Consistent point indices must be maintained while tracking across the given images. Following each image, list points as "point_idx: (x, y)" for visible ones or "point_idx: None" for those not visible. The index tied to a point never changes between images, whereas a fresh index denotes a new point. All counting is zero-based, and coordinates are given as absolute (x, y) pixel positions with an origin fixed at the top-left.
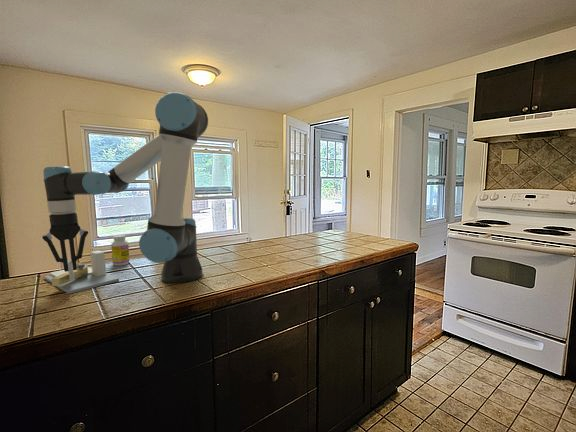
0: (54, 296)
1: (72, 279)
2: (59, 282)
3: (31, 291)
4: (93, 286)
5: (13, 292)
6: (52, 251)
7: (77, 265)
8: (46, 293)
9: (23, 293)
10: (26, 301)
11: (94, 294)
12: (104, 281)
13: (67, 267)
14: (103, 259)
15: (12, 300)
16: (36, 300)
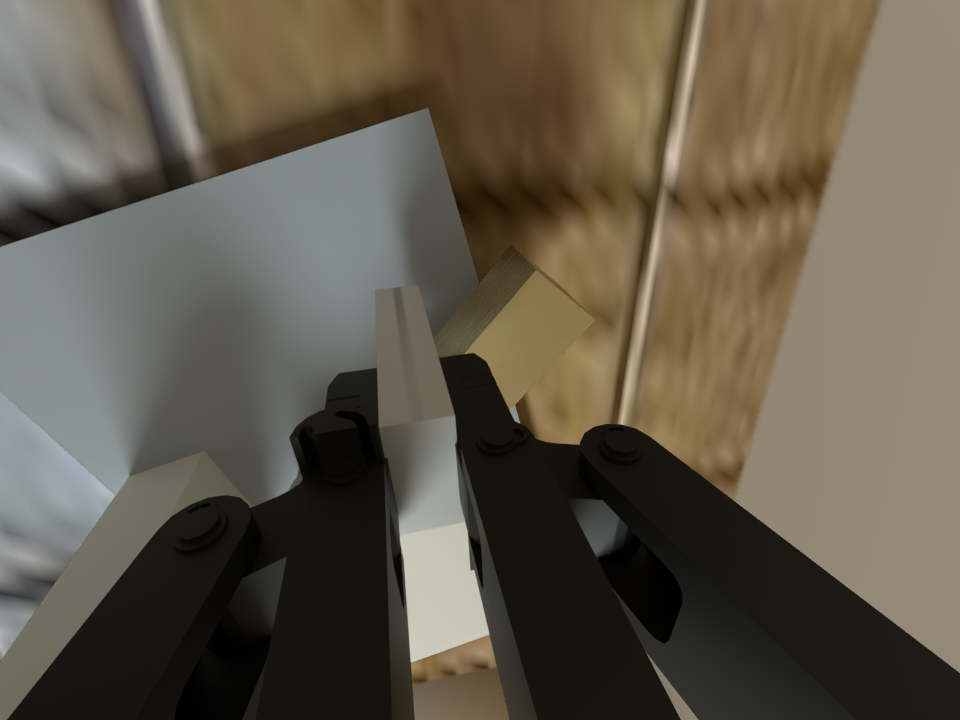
0: (539, 124)
1: (394, 290)
2: (515, 262)
3: (651, 376)
4: (187, 185)
5: (725, 409)
6: (916, 657)
7: None
8: (583, 267)
9: (693, 359)
10: (723, 135)
11: None
12: (64, 250)
13: (451, 390)
14: (27, 640)
15: (774, 237)
16: (667, 105)
